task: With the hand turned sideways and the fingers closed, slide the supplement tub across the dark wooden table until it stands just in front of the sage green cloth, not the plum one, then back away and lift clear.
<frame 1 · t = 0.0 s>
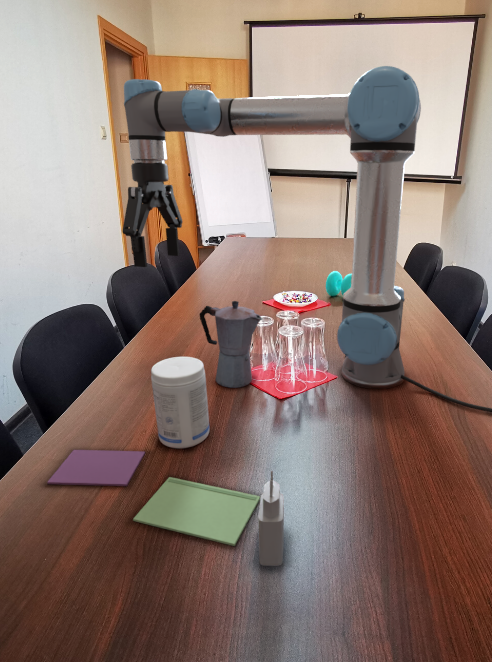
hand: (158, 260, 105), 28 cm above the table, tool pointing down, fingers open, 13 cm apart
plum cloth: (98, 467, 78), on the table
moka pot: (232, 381, 111), on the table
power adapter: (271, 550, 62), on the table
supplement tub: (184, 437, 88), on the table
turquoise yo-yo: (341, 297, 181), on the table
sage cloth: (199, 509, 69), on the table
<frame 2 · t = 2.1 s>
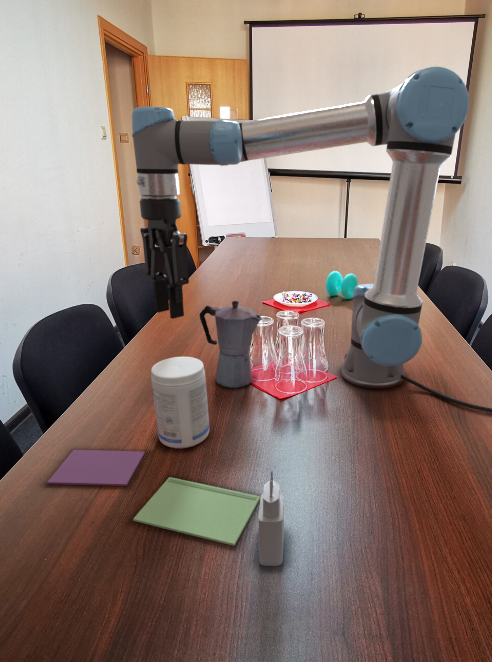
hand: (169, 313, 95), 20 cm above the table, tool pointing down, fingers open, 5 cm apart
nothing on the table moved.
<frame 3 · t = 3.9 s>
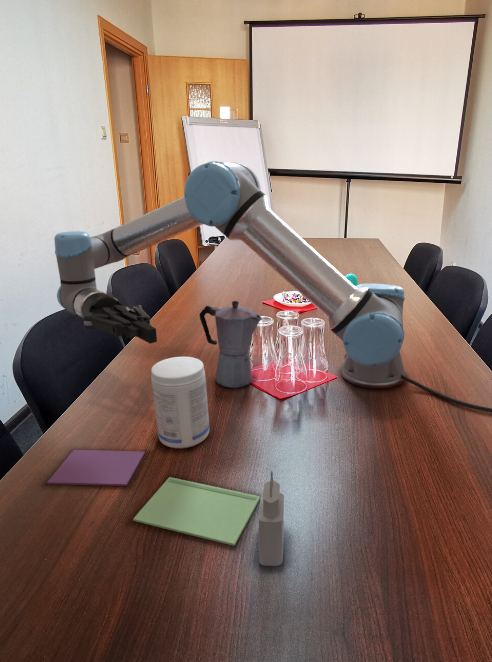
hand: (152, 336, 87), 18 cm above the table, tool horizontal, fingers closed
nothing on the table moved.
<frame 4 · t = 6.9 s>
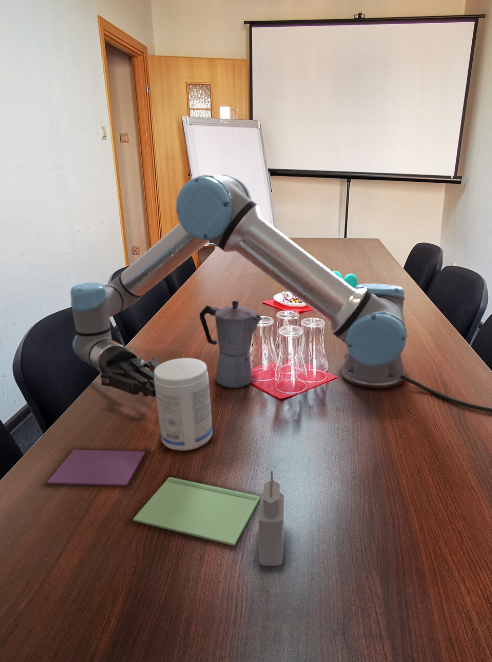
hand: (170, 396, 88), 7 cm above the table, tool horizontal, fingers closed
supplement tub: (187, 439, 87), on the table, touching gripper
everything else where it was.
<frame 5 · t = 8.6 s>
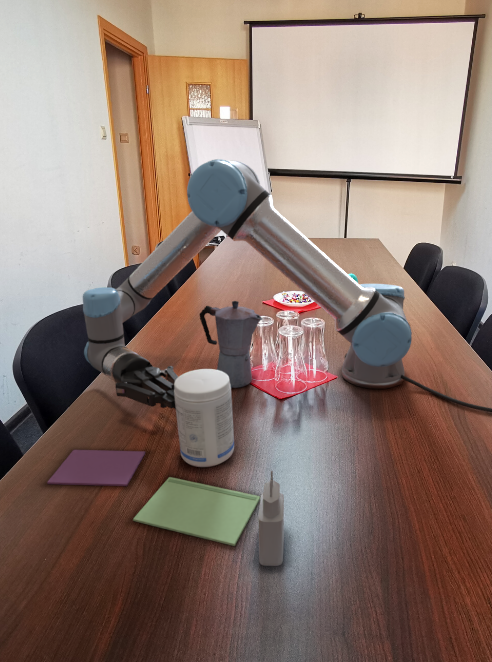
hand: (189, 408, 84), 7 cm above the table, tool horizontal, fingers closed
supplement tub: (207, 454, 83), on the table, touching gripper
everything else where it was.
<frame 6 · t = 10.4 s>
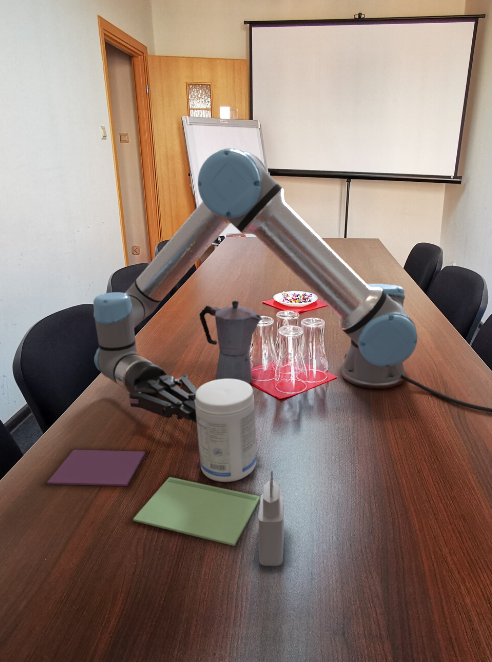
hand: (208, 420, 80), 7 cm above the table, tool horizontal, fingers closed
supplement tub: (228, 467, 79), on the table, touching gripper
everything else where it was.
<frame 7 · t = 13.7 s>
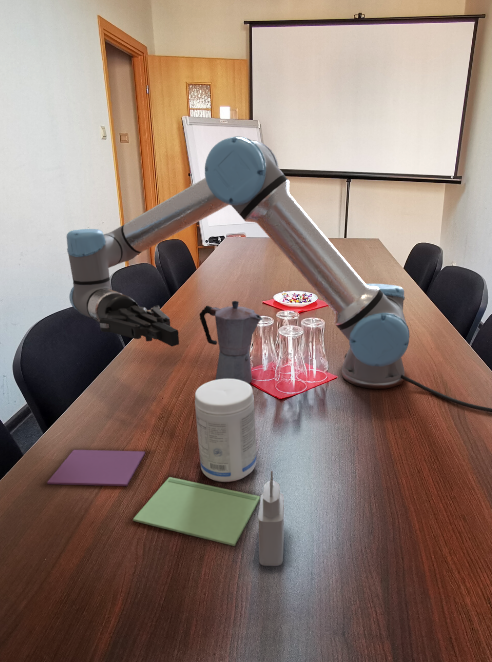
hand: (174, 338, 81), 20 cm above the table, tool horizontal, fingers closed
supplement tub: (228, 467, 79), on the table
everything else where it was.
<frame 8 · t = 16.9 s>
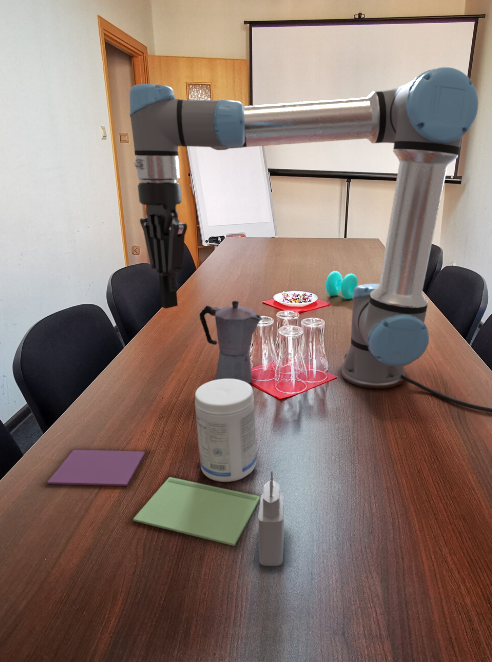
hand: (169, 306, 91), 22 cm above the table, tool pointing down, fingers closed
nothing on the table moved.
at the end: supplement tub inside the target area (1.0 cm from its centre), on the table; supplement tub tilted 0°; supplement tub moved 13.4 cm from its start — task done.
